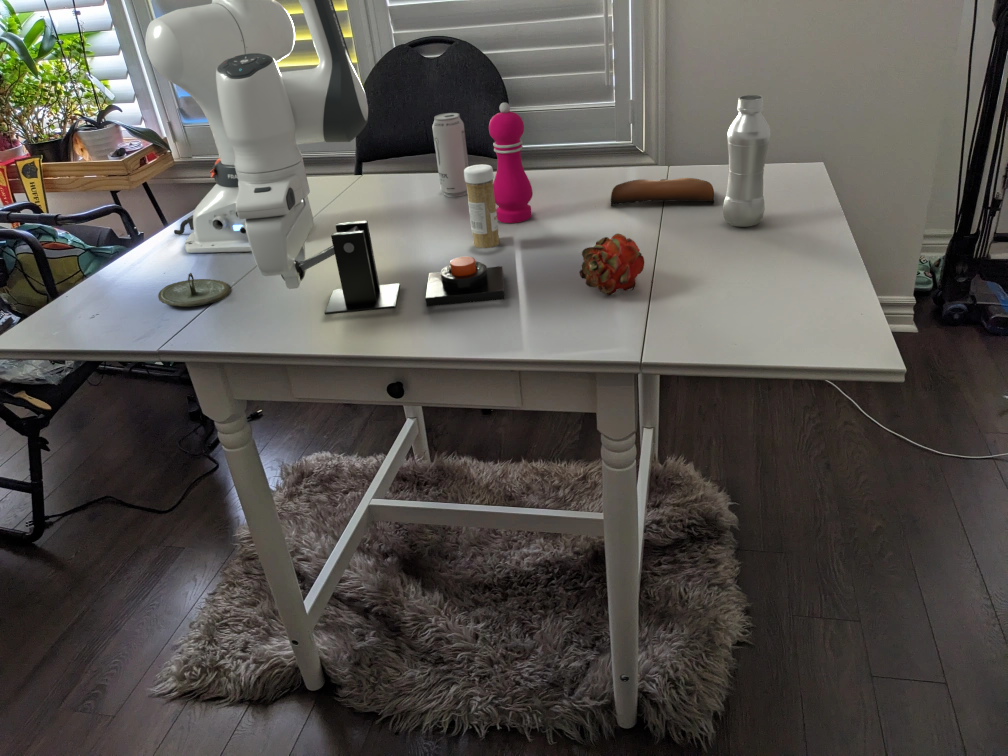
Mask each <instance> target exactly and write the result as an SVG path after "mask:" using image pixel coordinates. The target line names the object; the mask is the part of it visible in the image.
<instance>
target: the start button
mask: <svg viewBox="0 0 1008 756" xmlns="http://www.w3.org/2000/svg"><path fill="white" fill-rule="evenodd" d="M475 262H476V259H475V258H474V257H472V256H464V255H463V256H458V257H455V258H453V259H451V260H450V262H449V265H450V267H451V274H452V275H455V276H466V275H470V274H473V273H475V272H476V263H475Z"/></svg>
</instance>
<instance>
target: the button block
mask: <svg viewBox="0 0 1008 756" xmlns="http://www.w3.org/2000/svg"><path fill="white" fill-rule="evenodd" d="M475 263H476V272H475V273H473V274H470V275H466V276H455V275H452V274H451V267H450V264H447V265H446V266H444V267H443V268H442V269H441V270H440V271H437V272H429V273H428V276H427V277H428V278H427V284H426V292H425V299H424V300H425V305H426V307H427V308H429V307H438V306H448V305H459V304H460V305H461V304H470V303H478V302H479V303H480V302H490V301H501V300H505V281H504V269H503V268H504V267H503V266H489V267H487V265H486V264H484V263H483V262H480V261H475Z"/></svg>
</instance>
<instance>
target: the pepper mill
mask: <svg viewBox="0 0 1008 756" xmlns="http://www.w3.org/2000/svg"><path fill="white" fill-rule="evenodd" d="M510 110H511V106H510V104H509V103H508V102H502V103H500V105H499V111H500V112H498V113H496V114H495V115H493V116H492V117H491V118H490V120H489V124H488V131H489V136H490V137H491V138H492V139H493V140H494V142H493V144H492V145H493V152H494V153H496V158H497V160H496V161H497V168H496V173H495V176H494V178H493V189H494V198H495V204H496V206H498V207H496V213H497V222H500V223H503V224H518V223H523V222H526V221H529V220H530V219H531V218H532V216H533V215H532V206H531V205H530V204H529V203H530V202H531V200H532V198H533V195H534V194H533V193H534V191H533V187H532V184H531V181H530V178H529V177H528V175H527V174H526V171H525V169H524V166H523V163H522V157H521V156H522V155H521V151H522V150H523V148H524V146H523V140H522V139H521V137H522V136H523V134H524V132H525V124H524V120H523V119H522V117H521V116H520V115H519V114H518V113H516V112H514V111H510Z"/></svg>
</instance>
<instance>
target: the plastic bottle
mask: <svg viewBox="0 0 1008 756" xmlns="http://www.w3.org/2000/svg"><path fill="white" fill-rule="evenodd" d="M764 107H765V106H764V96H763V95H761V94H745V95H740V96H739V97H738V99H737V107H736V111H737V112H738V114H737V116H736V117H735V118H734V119H733V121H732V122H731V124H730V126H729V127H728V130H727V132H726V134H727V136H726V137H727V139H726V140H727V150H728V167H729V168H728V177H727V186H726V193H725V196H724V199H723V205H722V214H723V219H724V220H725V222H726V223H727V224H728V225H731V226H735V227H741V228H742V227H743V228H744V227H753V226H756V225H758V224H759V223H760V222H761V221H762V220H763V217H764V214H765V210H766V207H765V196H764V172H765V167H766V166H765V164H766V158H767V152H768V149H769V145H770V144H769V143H770V139H771V135H772V134H771V133H772V132H771V127H770V125H769V123H768V122H767V120H766V118H765V117H764V115H763V114H762V111H764Z"/></svg>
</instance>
